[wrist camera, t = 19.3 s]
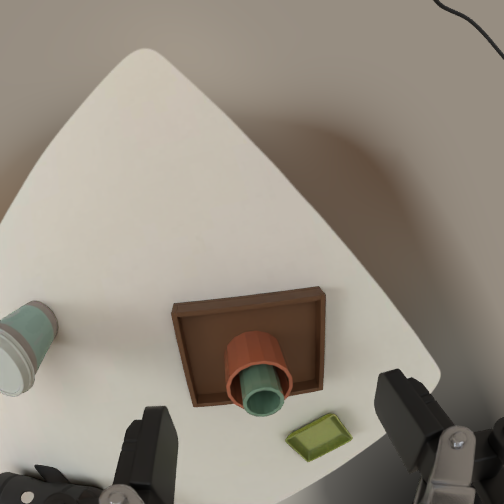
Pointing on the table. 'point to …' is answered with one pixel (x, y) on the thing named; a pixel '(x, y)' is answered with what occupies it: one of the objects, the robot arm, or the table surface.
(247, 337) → the tumbler
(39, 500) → the dark grey hollow housing
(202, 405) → the tray
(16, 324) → the coffee cup
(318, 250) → the table surface
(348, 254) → the table surface
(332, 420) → the saucer
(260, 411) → the small cup
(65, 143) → the table surface
